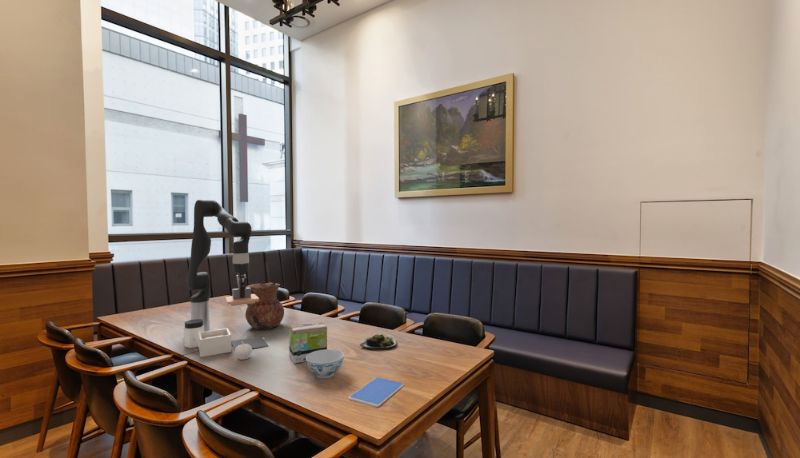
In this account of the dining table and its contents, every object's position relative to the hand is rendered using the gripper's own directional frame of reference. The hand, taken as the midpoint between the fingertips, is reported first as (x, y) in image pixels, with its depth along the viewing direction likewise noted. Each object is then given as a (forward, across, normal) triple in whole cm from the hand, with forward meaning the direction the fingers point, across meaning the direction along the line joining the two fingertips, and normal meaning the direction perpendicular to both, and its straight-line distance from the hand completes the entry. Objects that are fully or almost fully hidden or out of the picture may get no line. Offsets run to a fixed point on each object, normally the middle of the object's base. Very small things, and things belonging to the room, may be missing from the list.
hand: (241, 296), depth 184 cm
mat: (+25, -1, +3) cm, 25 cm away
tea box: (+25, +33, +23) cm, 48 cm away
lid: (+3, 0, 0) cm, 3 cm away
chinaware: (+25, +55, +24) cm, 65 cm away
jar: (+25, -14, -21) cm, 35 cm away
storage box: (+25, 0, -12) cm, 28 cm away
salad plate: (+26, +34, +58) cm, 72 cm away
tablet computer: (+26, +79, +35) cm, 90 cm away
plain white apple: (+25, +18, -2) cm, 31 cm away
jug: (+25, -29, +16) cm, 41 cm away
